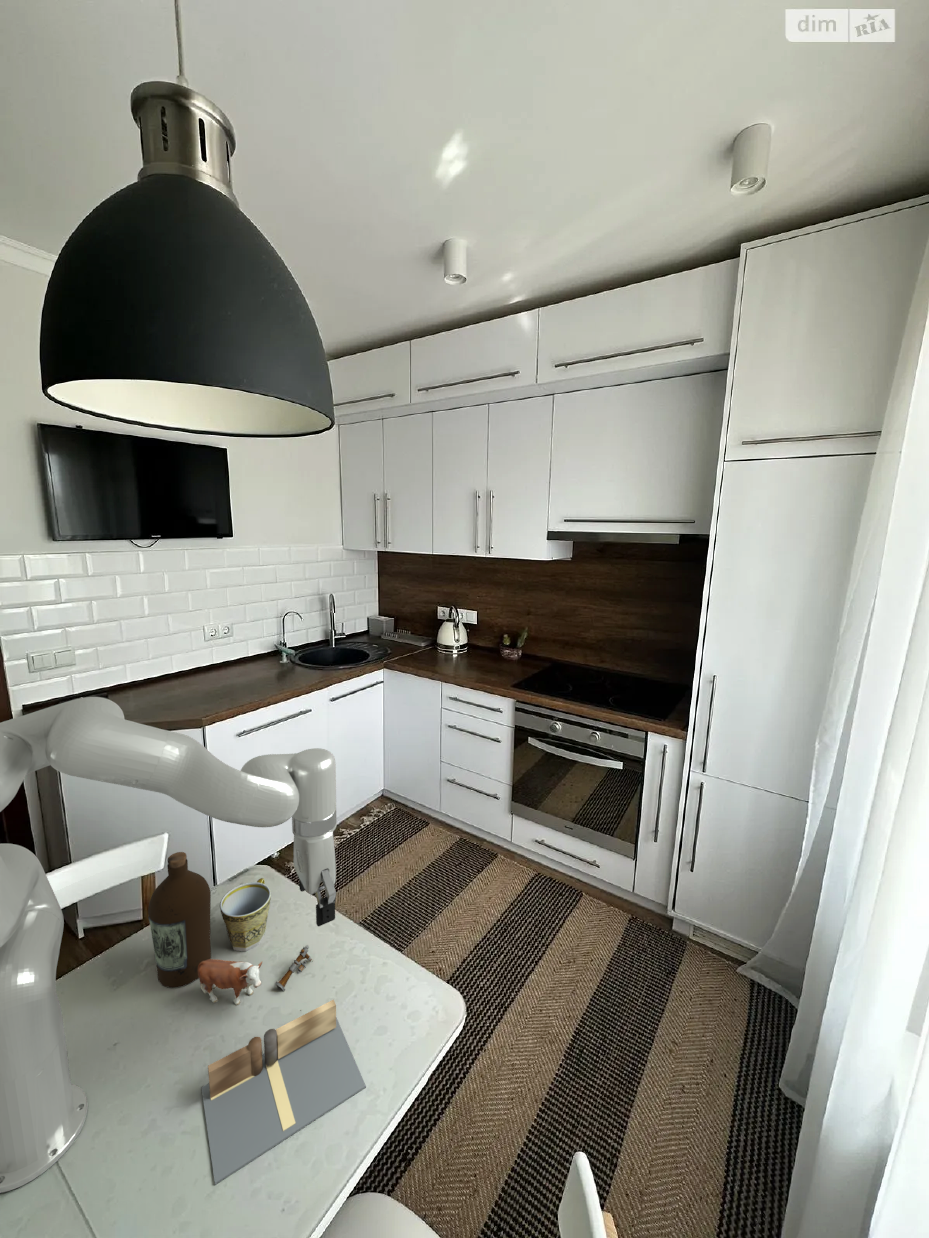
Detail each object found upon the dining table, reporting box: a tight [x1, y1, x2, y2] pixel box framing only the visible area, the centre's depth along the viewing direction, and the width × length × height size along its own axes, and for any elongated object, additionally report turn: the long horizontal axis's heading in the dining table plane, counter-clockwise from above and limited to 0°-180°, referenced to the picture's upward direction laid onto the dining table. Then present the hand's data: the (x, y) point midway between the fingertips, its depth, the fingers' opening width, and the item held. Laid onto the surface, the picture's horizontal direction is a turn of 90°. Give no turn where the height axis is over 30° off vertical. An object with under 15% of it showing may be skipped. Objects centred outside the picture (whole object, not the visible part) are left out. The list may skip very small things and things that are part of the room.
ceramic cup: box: [219, 877, 272, 952], centre depth 107 cm, size 13×10×10 cm
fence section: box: [207, 1036, 263, 1098], centre depth 79 cm, size 8×2×5 cm, turn 124°
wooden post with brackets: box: [274, 944, 313, 992], centre depth 99 cm, size 2×8×4 cm, turn 149°
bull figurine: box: [198, 958, 263, 1006], centre depth 93 cm, size 4×13×8 cm, turn 79°
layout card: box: [200, 1017, 367, 1186], centre depth 79 cm, size 22×14×1 cm, turn 124°
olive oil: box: [147, 851, 212, 989], centre depth 97 cm, size 11×11×25 cm
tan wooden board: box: [263, 999, 337, 1066], centre depth 85 cm, size 12×2×5 cm, turn 125°
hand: (316, 904), depth 90 cm, fingers open, 9 cm apart
